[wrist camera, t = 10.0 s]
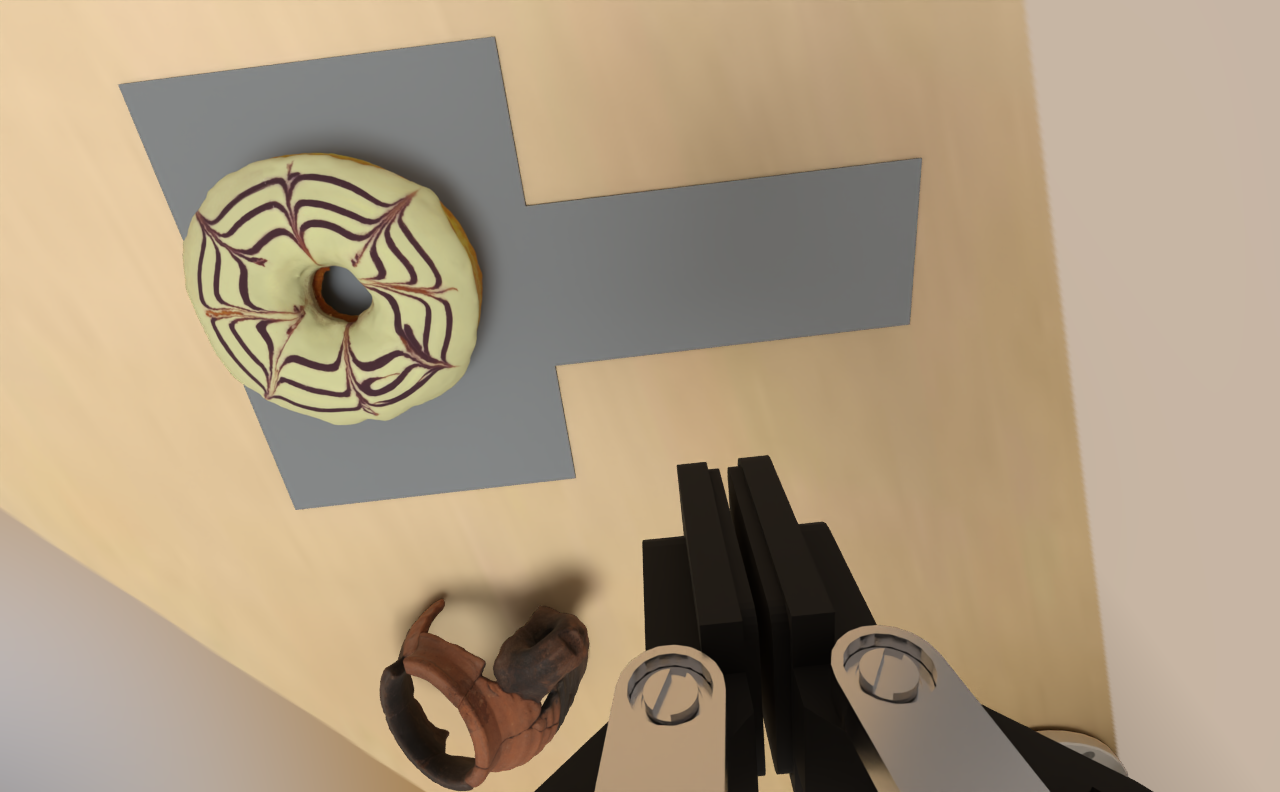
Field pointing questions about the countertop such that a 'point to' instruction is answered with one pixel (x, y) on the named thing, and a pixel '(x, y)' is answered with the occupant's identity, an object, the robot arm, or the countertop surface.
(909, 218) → the t mat
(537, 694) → the pottery mug
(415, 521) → the countertop surface
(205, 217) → the decorated donut
